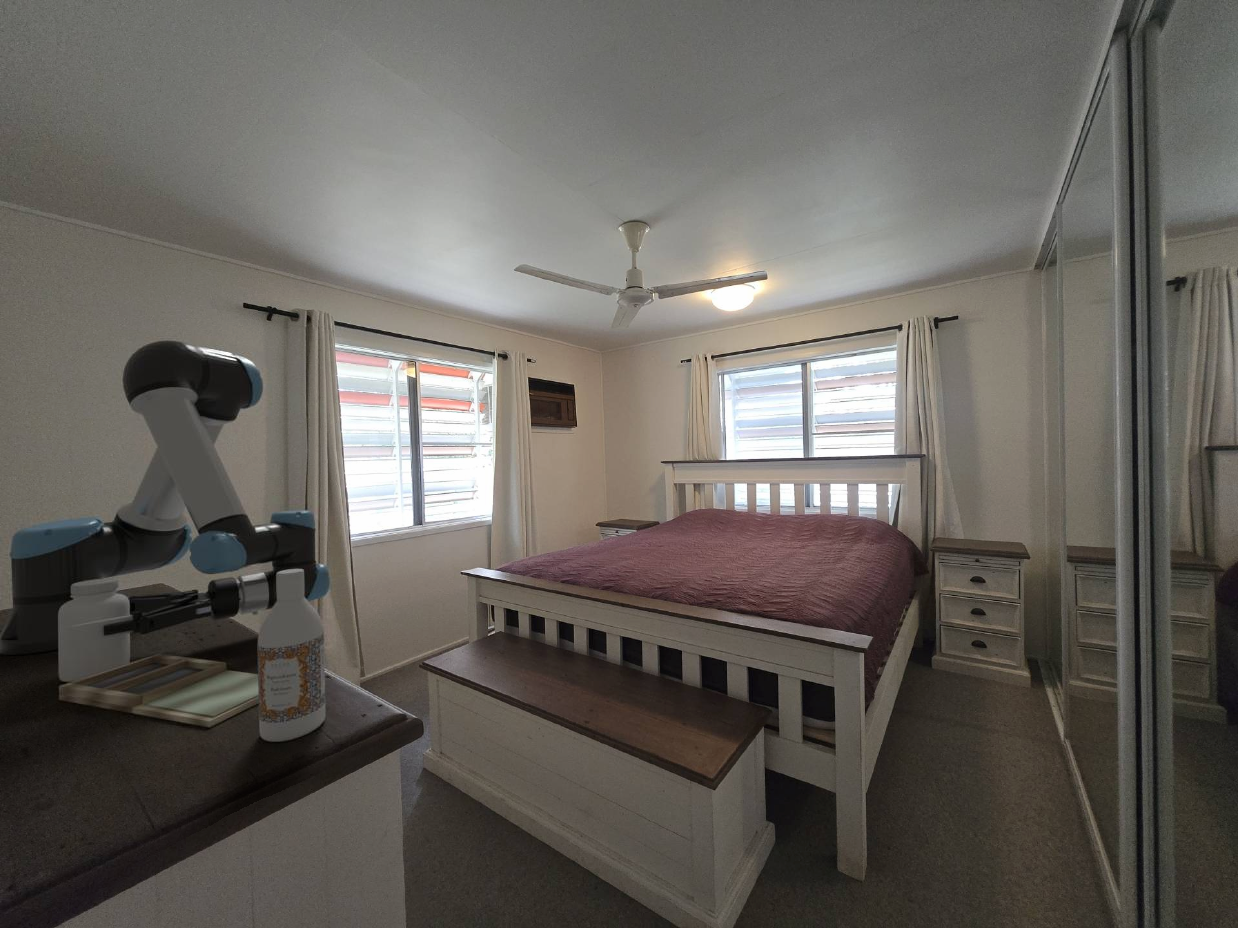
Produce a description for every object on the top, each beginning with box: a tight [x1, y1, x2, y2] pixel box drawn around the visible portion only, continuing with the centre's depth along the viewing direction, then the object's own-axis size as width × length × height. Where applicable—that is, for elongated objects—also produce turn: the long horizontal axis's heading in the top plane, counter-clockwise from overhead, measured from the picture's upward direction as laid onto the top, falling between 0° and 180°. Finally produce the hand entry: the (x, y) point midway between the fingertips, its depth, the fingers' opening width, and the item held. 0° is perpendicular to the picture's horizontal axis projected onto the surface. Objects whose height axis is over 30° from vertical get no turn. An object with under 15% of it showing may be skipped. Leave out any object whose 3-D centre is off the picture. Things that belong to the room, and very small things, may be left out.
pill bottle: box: [57, 577, 131, 683], centre depth 79 cm, size 8×8×15 cm
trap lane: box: [58, 653, 259, 728], centre depth 71 cm, size 30×12×2 cm, turn 74°
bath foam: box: [256, 569, 326, 743], centre depth 61 cm, size 7×7×20 cm
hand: (69, 625), depth 76 cm, fingers open, 13 cm apart
